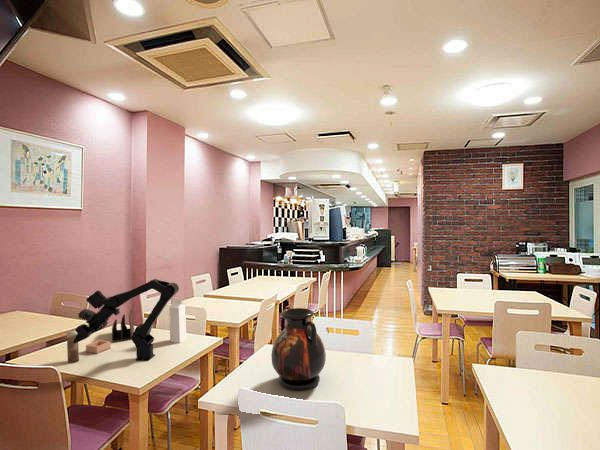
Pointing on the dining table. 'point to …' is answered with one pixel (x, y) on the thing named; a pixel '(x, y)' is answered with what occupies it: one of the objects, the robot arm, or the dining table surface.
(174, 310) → the milk
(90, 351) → the pink open box
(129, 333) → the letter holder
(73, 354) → the brown tall cylinder
